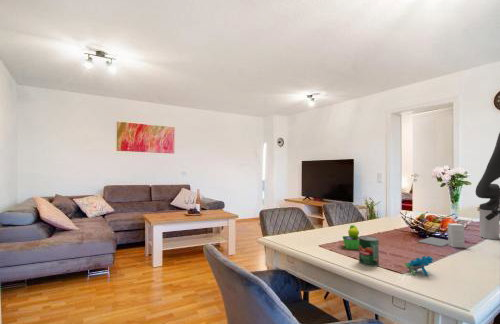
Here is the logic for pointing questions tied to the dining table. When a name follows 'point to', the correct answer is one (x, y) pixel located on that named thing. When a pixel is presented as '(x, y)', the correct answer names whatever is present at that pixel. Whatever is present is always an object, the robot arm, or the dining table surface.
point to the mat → (434, 241)
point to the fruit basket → (352, 238)
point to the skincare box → (456, 235)
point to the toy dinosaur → (419, 264)
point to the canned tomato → (369, 250)
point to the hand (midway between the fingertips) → (487, 218)
